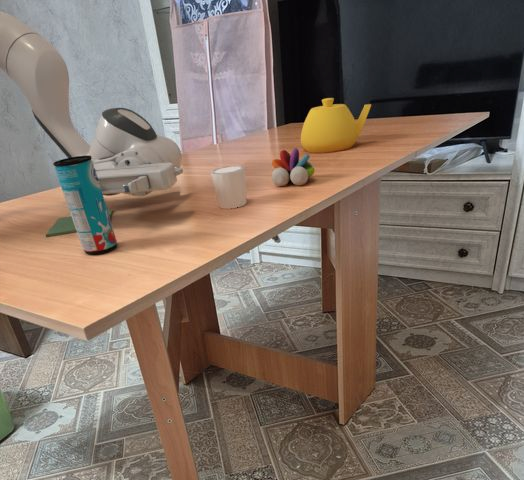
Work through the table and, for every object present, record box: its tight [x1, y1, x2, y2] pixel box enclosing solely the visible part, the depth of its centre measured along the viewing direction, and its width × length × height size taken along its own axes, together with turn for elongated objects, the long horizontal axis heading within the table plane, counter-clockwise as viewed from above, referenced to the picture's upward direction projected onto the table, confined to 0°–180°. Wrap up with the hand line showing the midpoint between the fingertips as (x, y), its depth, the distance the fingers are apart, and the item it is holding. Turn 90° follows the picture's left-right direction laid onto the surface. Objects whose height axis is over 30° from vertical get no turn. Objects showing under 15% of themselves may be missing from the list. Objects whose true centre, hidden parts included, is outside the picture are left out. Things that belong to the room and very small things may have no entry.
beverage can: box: [52, 156, 118, 255], centre depth 78 cm, size 6×6×15 cm
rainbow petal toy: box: [271, 147, 316, 187], centre depth 104 cm, size 8×10×7 cm
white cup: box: [210, 165, 247, 210], centre depth 94 cm, size 7×7×7 cm
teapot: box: [300, 97, 372, 154], centre depth 133 cm, size 20×19×13 cm
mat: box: [45, 208, 114, 238], centre depth 98 cm, size 12×12×1 cm
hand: (104, 190), depth 82 cm, fingers open, 8 cm apart
